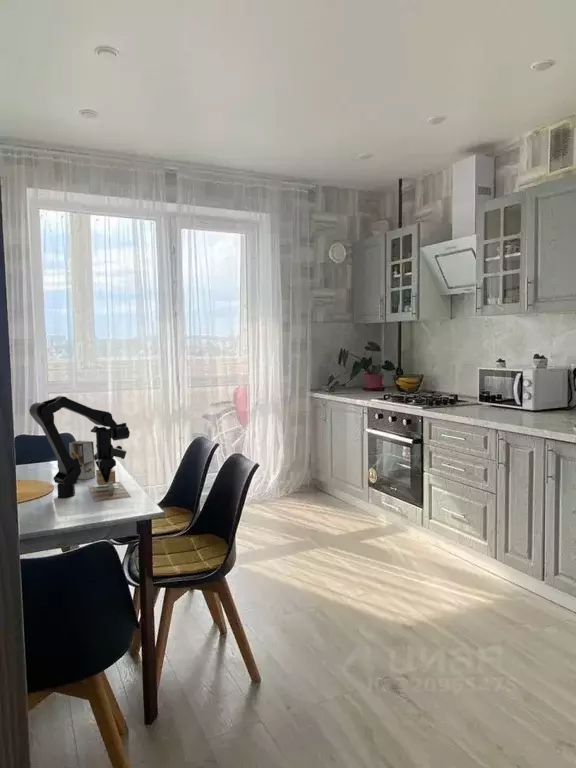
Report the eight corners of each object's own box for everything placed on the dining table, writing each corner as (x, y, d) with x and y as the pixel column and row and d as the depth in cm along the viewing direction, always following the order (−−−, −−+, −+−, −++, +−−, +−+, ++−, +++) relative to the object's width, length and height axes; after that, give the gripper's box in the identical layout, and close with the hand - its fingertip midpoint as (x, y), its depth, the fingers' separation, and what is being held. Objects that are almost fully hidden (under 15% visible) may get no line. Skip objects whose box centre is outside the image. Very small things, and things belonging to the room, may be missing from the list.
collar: (115, 483, 229) (115, 471, 229) (98, 485, 226) (98, 473, 226) (113, 480, 235) (112, 468, 235) (96, 482, 232) (96, 470, 232)
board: (131, 500, 215) (130, 483, 214) (95, 505, 209) (94, 487, 209) (120, 484, 240) (119, 469, 239) (87, 488, 234) (86, 472, 234)
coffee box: (96, 476, 256) (94, 441, 254) (85, 480, 250) (83, 443, 249) (81, 475, 260) (79, 440, 259) (70, 478, 254) (68, 442, 253)
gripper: (128, 443, 224) (130, 482, 225) (120, 437, 241) (122, 473, 242) (98, 446, 220) (100, 486, 221) (93, 439, 237) (95, 476, 238)
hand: (105, 480), depth 230 cm, fingers closed on collar, 6 cm apart
